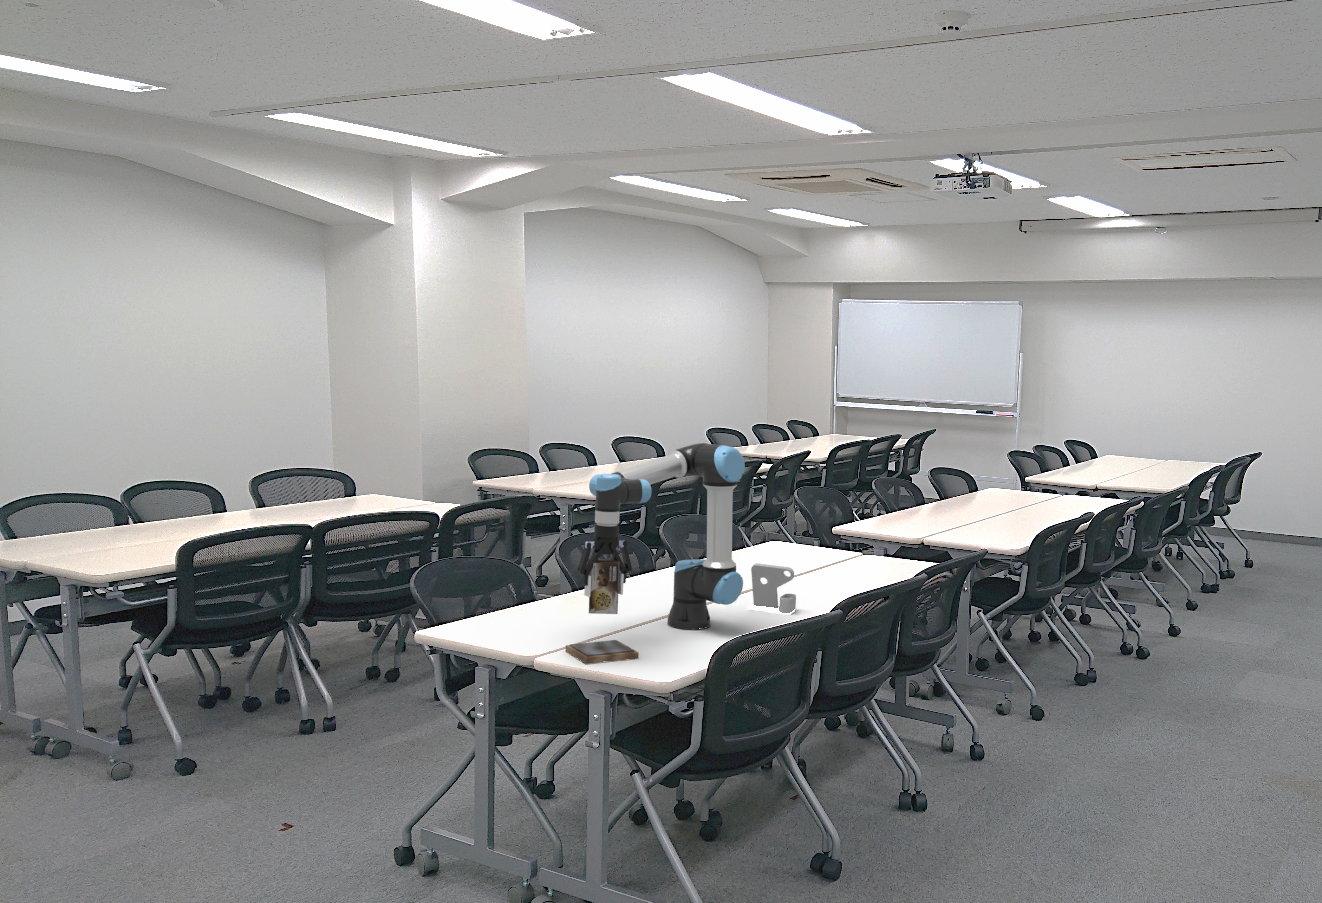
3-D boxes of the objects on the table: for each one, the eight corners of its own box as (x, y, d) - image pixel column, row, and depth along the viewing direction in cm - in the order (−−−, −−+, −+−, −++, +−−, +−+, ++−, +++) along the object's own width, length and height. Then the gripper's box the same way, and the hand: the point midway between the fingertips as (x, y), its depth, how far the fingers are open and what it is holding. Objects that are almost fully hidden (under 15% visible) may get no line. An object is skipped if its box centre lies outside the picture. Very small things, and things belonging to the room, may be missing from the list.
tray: (616, 646, 348) (617, 638, 348) (638, 658, 335) (638, 650, 334) (565, 651, 339) (565, 643, 339) (585, 664, 326) (585, 656, 326)
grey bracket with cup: (797, 611, 410) (800, 564, 409) (790, 616, 401) (792, 568, 399) (754, 605, 417) (756, 559, 415) (745, 610, 408) (748, 563, 406)
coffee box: (617, 610, 339) (620, 559, 338) (617, 614, 333) (619, 563, 331) (588, 608, 339) (590, 558, 337) (587, 613, 332) (590, 561, 331)
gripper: (634, 521, 342) (631, 590, 344) (567, 523, 331) (564, 594, 333) (645, 524, 336) (642, 595, 337) (577, 527, 325) (574, 599, 326)
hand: (603, 594), depth 335 cm, fingers closed on coffee box, 10 cm apart
